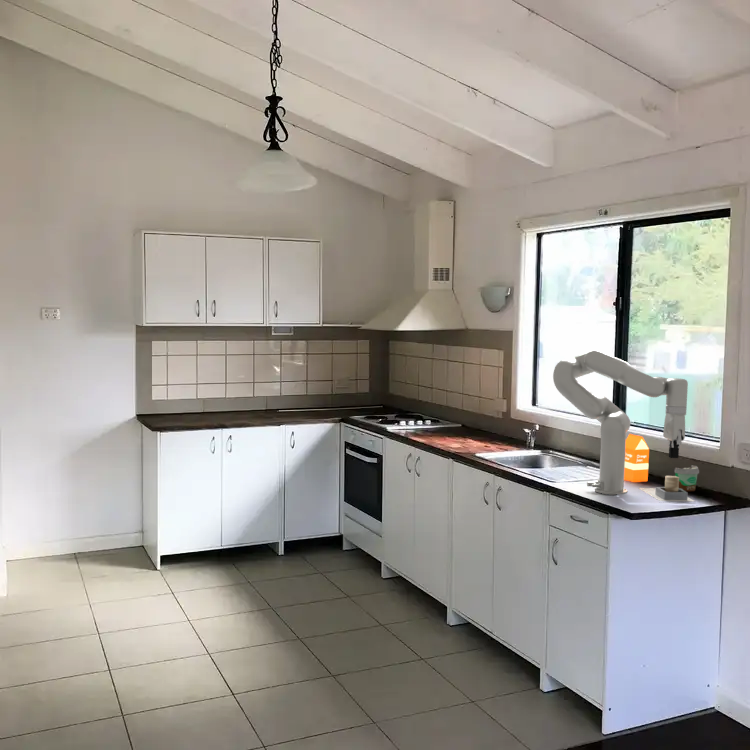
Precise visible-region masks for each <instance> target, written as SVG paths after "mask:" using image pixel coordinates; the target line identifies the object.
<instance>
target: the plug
mask: <svg viewBox="0 0 750 750" xmlns="http://www.w3.org/2000/svg"><path fill="white" fill-rule="evenodd" d="M664 477H665V478H664V487H665V491H666V492H678V489H679V477H677V476H675V475H665V476H664Z"/></svg>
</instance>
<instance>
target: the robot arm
mask: <svg viewBox="0 0 750 750" xmlns="http://www.w3.org/2000/svg"><path fill="white" fill-rule="evenodd" d="M591 373H596V374H599V375H601V376H604V377H605V378H608V379H610V380H613V381H615V382H617V383H619V384H621V385H623V386H624V387H625V386H626V387H627V388H628V389H631V390H634V391H635V392H638V393H640V394H642V395H644V396H647V397H650V398H658V397H661V396H666V397H665V398H666V399H665V417H664V423H663V424H664V425H663V435H662V436H663V437H664V439H667V441H668V447H669V448H668V457H669V458H670V459H678V458H679V454H680V446H681V445H683V443H682V442H683V441H685V438H686V415H687V405H688V390H689V389H688V388H689V387H688V386H689V385H688V384H689V381H688V380H687V379H685V378H679V377H678V378H677V377H676V378H675V377H673V378H668V377H662V376H654V377H653V376H651V375H649V374H646V373H644V372H642V371H640V370H639V369H636V368H634V366H632V365H631V364H630V363H629V362H627V361H624V360H622V359H621V358H618V357H615V356H612V355H610V354H608V353H607V352H606V351H605V350H603V349H601V348H595V349H590V350H588V351H587V352H586V353H582V354H580V355H577V356H574V357H571V358H566V359H565V358H564V359H562V360H560V361H559V362H557V364H556V365H555V367H554V369H553V374H552V378H553V383H554V386H555V388H556V390H557V391H558V392H559V393H560V395H562V396H563V397H564V398H565V399H566V400H567V401H568V402H570V404H572V405H573V406H574V407H575V408H576V409H577V410H579V411H580V412H581V413H582V414H583V415H584V416H585V417H587V419H590V420H597V421H598V422H600V458H599V459H600V460H599V478H598V479H596V480H595V481H587V482H586V486H587V487H592V488H594V491H595V492H597V493H598V494H601V493H602V495H607V494H609V495H610V496H618V495H622V494H623V495H624V494H627V493H628V489H626V488H624V487H625V485H624V484H625V480H624V470H625V449H626V439H627V438H626V434H627V432H628V430H629V429H630V427H631V420H630V418H629V415H627V414H626V412H624V411H623V410H622V409H620V407H618V406H617V405H615V403H613V402H612V401H611V400H610V399H609V398H607V397H606V396H604V395H602V394H598V393H597V394H595V393H593V392H592V391H590V389H588V388H587V387H585V385H584V384H582V383H580V382H579V381H578V380H577V378H580V377H583V376H585V375H590V374H591Z"/></svg>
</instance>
